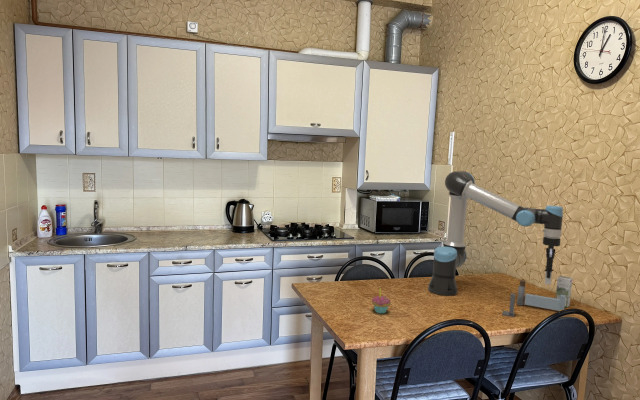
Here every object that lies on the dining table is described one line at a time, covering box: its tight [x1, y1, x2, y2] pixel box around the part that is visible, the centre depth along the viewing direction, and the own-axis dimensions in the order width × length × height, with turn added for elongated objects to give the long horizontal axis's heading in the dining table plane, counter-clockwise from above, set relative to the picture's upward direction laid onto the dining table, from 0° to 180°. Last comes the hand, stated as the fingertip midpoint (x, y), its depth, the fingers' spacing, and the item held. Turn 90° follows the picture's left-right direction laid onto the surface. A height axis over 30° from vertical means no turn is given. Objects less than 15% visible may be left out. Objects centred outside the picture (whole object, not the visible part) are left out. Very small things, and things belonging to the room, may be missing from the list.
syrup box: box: [554, 275, 573, 308], centre depth 216 cm, size 6×6×14 cm
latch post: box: [501, 292, 516, 318], centre depth 199 cm, size 5×5×10 cm
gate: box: [516, 285, 565, 312], centre depth 210 cm, size 20×3×9 cm, turn 63°
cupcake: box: [371, 287, 391, 314], centre depth 195 cm, size 9×8×12 cm
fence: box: [519, 279, 526, 288], centre depth 222 cm, size 3×13×9 cm, turn 153°
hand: (547, 283), depth 213 cm, fingers closed
